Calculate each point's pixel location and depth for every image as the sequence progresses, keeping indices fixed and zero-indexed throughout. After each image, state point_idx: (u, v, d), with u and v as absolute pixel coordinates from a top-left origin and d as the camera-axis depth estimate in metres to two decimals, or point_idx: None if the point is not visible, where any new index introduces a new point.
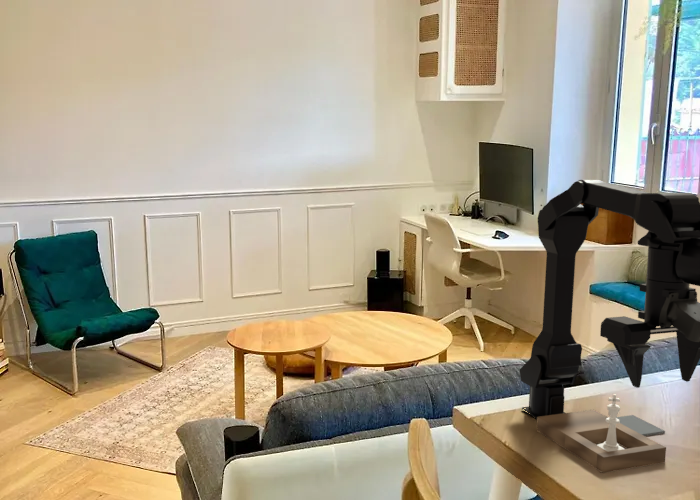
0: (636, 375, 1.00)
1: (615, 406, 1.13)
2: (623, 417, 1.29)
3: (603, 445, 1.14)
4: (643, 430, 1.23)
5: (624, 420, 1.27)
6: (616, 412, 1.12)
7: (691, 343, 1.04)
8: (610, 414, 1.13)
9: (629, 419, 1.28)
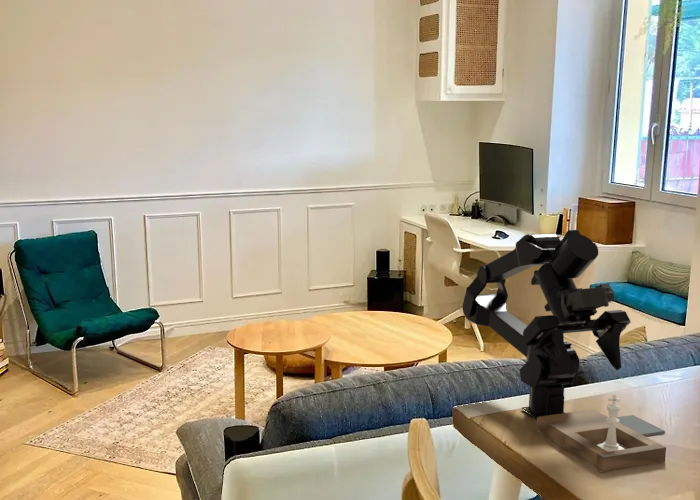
0: (567, 361, 1.16)
1: (615, 406, 1.13)
2: (623, 417, 1.29)
3: (603, 445, 1.14)
4: (643, 430, 1.23)
5: (624, 420, 1.27)
6: (616, 412, 1.12)
7: (607, 338, 1.21)
8: (610, 414, 1.13)
9: (629, 419, 1.28)
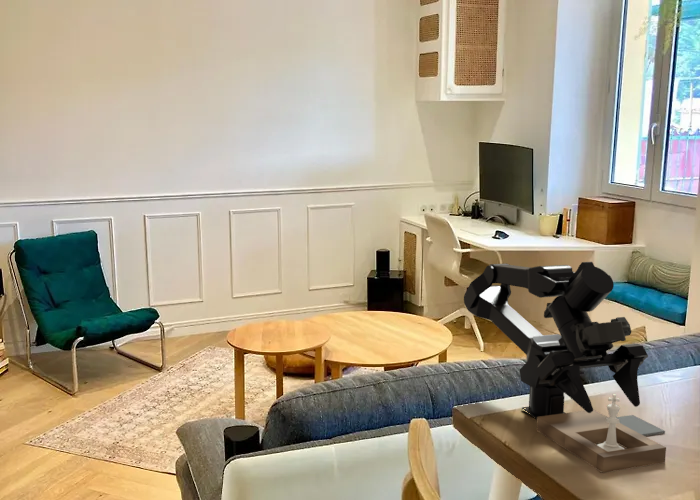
0: (584, 398, 1.12)
1: (615, 406, 1.13)
2: (623, 417, 1.29)
3: (603, 445, 1.14)
4: (643, 430, 1.23)
5: (624, 420, 1.27)
6: (616, 412, 1.12)
7: (624, 373, 1.18)
8: (610, 414, 1.13)
9: (629, 419, 1.28)
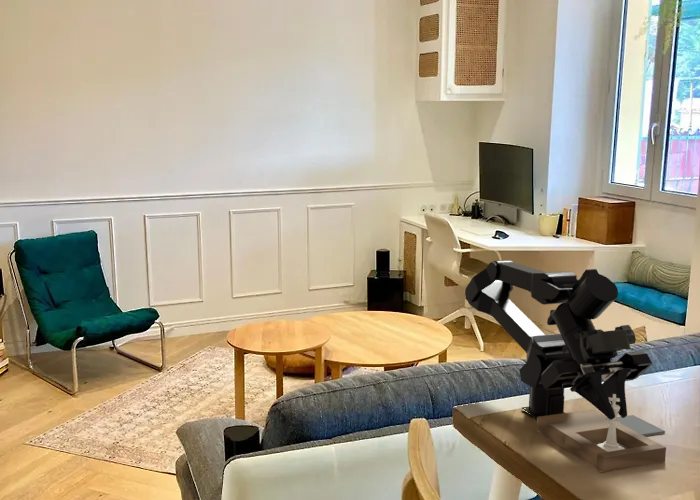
0: (606, 405, 1.12)
1: (615, 406, 1.13)
2: None
3: (603, 445, 1.14)
4: (643, 430, 1.23)
5: (624, 420, 1.27)
6: (616, 412, 1.12)
7: (611, 383, 1.16)
8: None
9: (629, 419, 1.28)
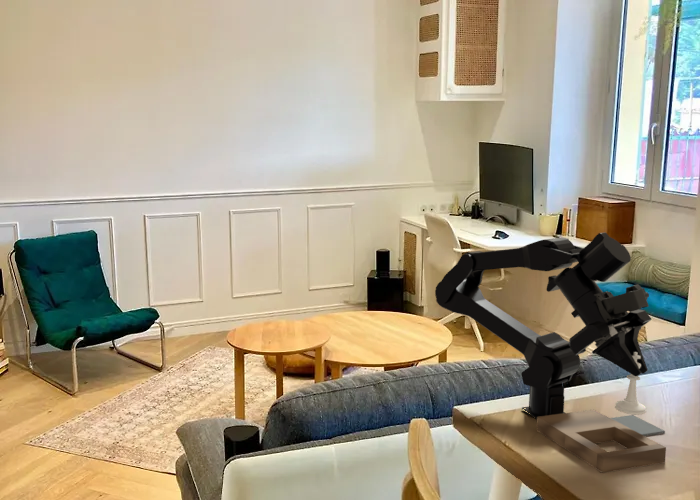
0: (632, 363, 1.15)
1: (637, 363, 1.17)
2: (623, 417, 1.29)
3: (624, 402, 1.18)
4: (643, 430, 1.23)
5: (624, 420, 1.27)
6: None
7: (625, 342, 1.20)
8: None
9: (629, 419, 1.28)
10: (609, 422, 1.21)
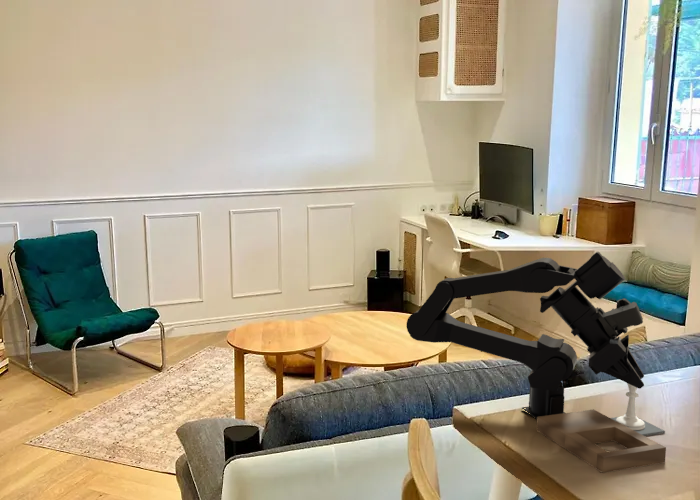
0: (637, 376, 1.21)
1: None
2: None
3: (626, 419, 1.25)
4: (643, 430, 1.23)
5: None
6: None
7: None
8: (633, 389, 1.24)
9: None
10: (609, 422, 1.21)
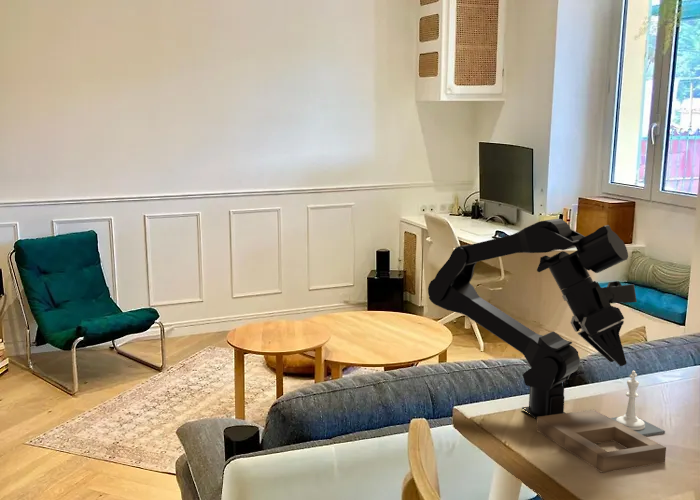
0: (623, 352, 1.18)
1: (636, 381, 1.24)
2: None
3: (626, 419, 1.25)
4: (643, 430, 1.23)
5: None
6: (637, 386, 1.24)
7: None
8: (633, 389, 1.24)
9: None
10: (609, 422, 1.21)
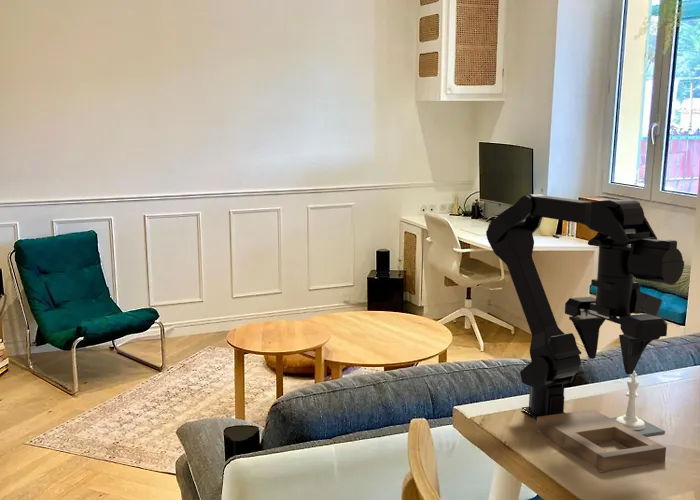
0: (636, 363, 1.13)
1: (636, 381, 1.24)
2: None
3: (626, 419, 1.25)
4: (643, 430, 1.23)
5: None
6: (637, 386, 1.24)
7: (593, 325, 1.22)
8: (633, 389, 1.24)
9: None
10: (609, 422, 1.21)
